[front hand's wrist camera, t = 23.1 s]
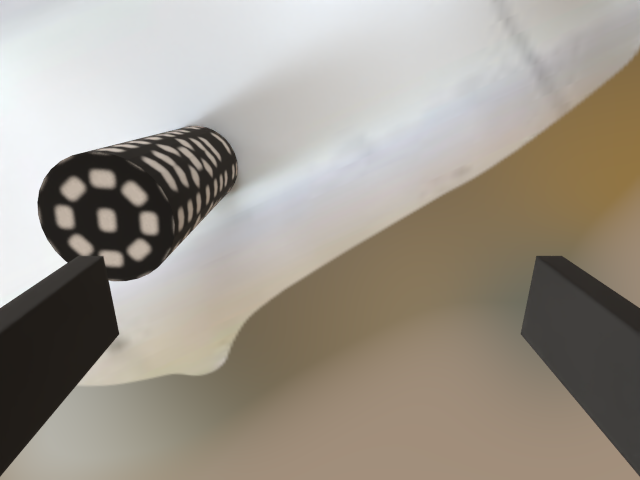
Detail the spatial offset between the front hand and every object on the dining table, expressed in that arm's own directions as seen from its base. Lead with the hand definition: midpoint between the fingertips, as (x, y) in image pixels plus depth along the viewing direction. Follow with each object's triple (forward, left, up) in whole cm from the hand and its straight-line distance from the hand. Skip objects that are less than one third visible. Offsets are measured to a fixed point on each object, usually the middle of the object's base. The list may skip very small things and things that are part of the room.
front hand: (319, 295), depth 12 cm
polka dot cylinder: (+12, -5, -22) cm, 26 cm away
